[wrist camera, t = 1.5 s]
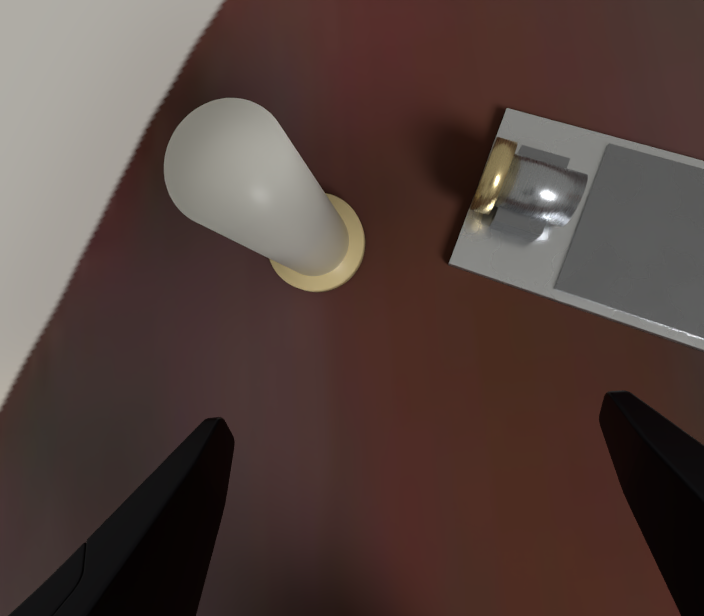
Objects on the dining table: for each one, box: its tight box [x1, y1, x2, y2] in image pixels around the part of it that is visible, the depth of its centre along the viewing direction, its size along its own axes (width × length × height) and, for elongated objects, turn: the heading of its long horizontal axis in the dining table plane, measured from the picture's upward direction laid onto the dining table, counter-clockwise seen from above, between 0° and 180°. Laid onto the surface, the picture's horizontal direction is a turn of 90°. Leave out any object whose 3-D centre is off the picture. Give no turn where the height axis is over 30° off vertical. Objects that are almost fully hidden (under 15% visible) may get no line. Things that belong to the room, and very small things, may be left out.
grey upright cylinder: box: [164, 98, 366, 292], centre depth 18 cm, size 6×6×12 cm
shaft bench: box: [448, 108, 704, 352], centre depth 19 cm, size 21×9×4 cm, turn 70°
